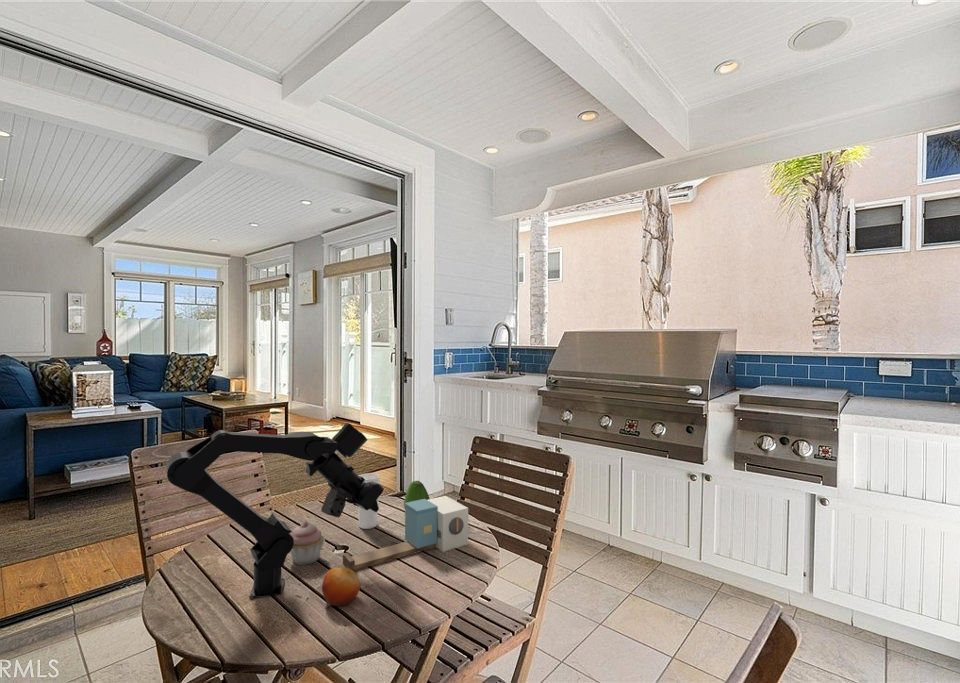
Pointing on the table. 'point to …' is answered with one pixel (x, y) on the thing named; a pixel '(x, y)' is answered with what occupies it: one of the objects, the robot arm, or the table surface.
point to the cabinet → (451, 523)
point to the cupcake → (306, 543)
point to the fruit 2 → (416, 492)
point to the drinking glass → (368, 516)
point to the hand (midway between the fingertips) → (377, 510)
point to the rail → (381, 555)
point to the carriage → (421, 523)
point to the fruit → (340, 586)
